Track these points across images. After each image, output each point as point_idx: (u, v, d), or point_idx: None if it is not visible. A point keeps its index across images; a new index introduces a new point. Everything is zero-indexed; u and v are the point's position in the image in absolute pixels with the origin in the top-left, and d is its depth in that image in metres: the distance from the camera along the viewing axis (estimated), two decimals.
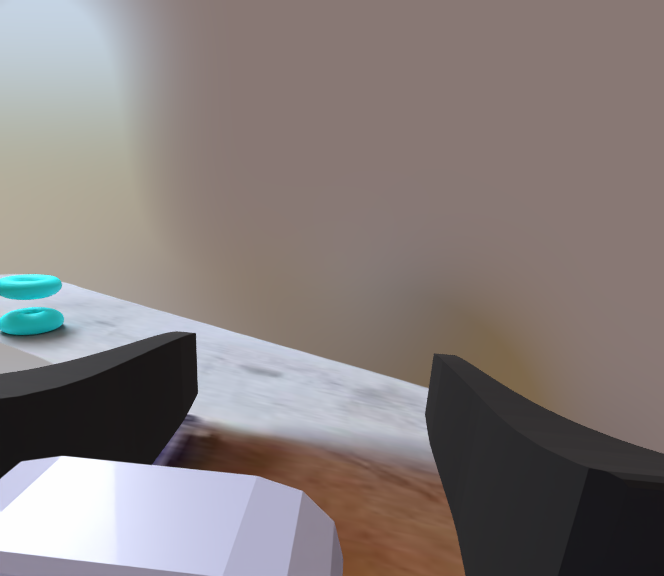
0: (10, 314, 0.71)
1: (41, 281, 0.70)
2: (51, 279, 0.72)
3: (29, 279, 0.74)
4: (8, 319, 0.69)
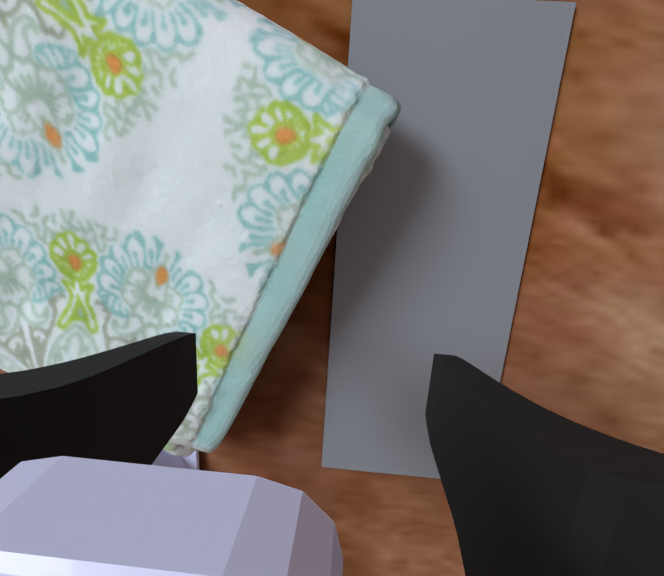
0: None
1: None
2: None
3: None
4: None
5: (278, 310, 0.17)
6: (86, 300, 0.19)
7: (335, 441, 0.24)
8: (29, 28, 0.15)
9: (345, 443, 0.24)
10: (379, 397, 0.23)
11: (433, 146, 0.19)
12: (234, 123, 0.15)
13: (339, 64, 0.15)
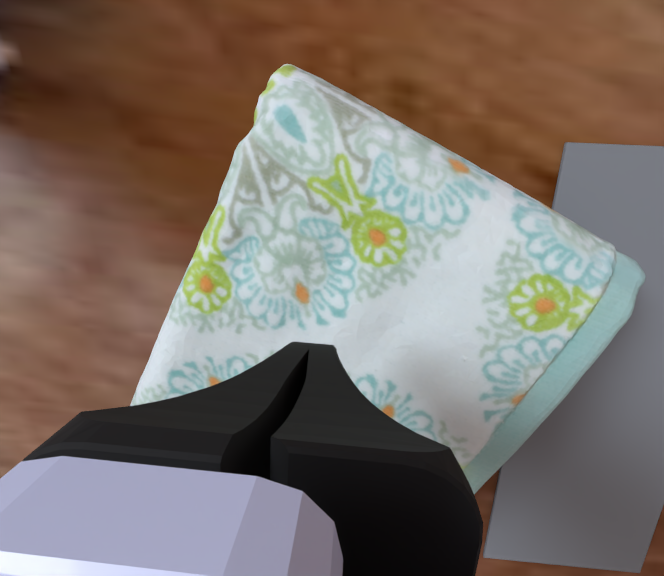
0: None
1: None
2: None
3: None
4: None
5: (507, 449, 0.18)
6: None
7: (500, 535, 0.25)
8: (298, 205, 0.16)
9: (510, 537, 0.25)
10: (549, 496, 0.24)
11: None
12: (494, 293, 0.16)
13: (587, 232, 0.16)
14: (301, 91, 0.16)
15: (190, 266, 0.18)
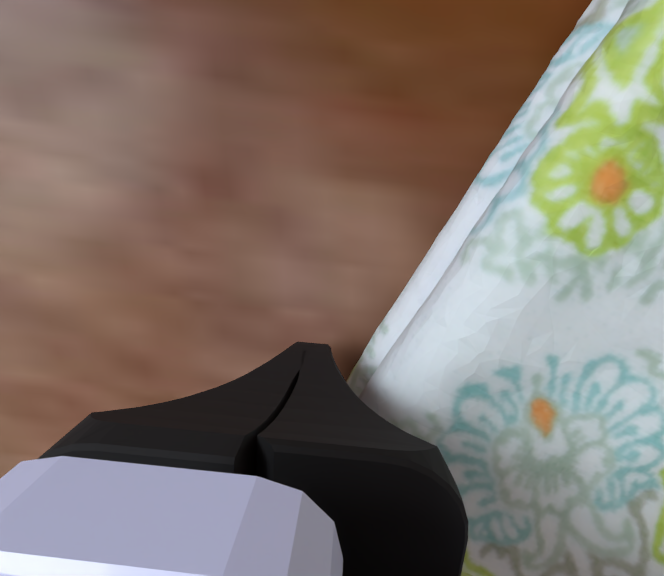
0: None
1: None
2: None
3: None
4: None
5: None
6: None
7: None
8: None
9: None
10: None
11: None
12: None
13: None
14: None
15: (557, 144, 0.08)
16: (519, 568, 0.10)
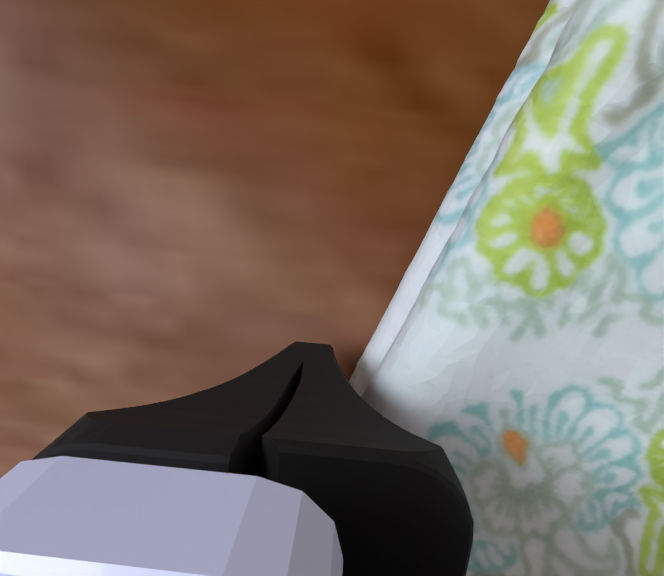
0: None
1: None
2: None
3: None
4: None
5: None
6: None
7: None
8: None
9: None
10: None
11: None
12: None
13: None
14: None
15: (496, 193, 0.08)
16: None
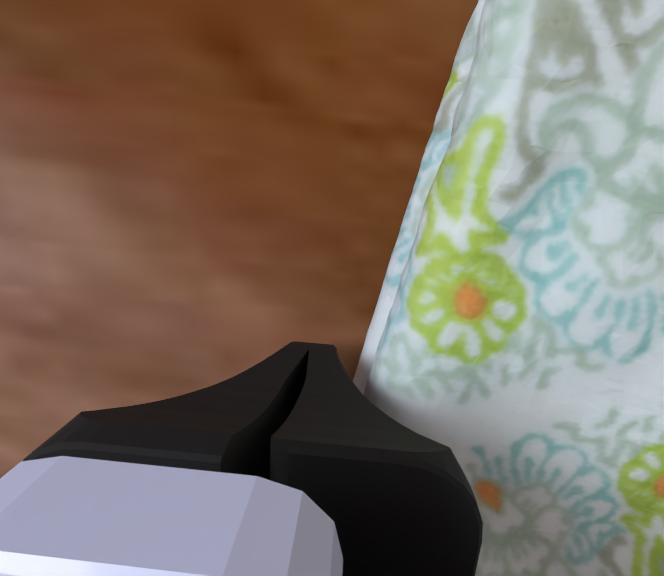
0: None
1: None
2: None
3: None
4: None
5: None
6: None
7: None
8: None
9: None
10: None
11: None
12: None
13: None
14: None
15: (419, 273, 0.08)
16: None
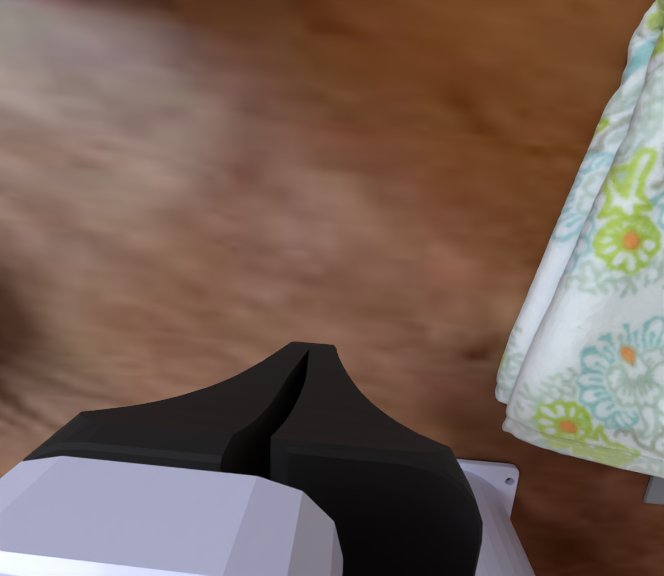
0: None
1: None
2: None
3: None
4: None
5: None
6: None
7: None
8: None
9: None
10: None
11: None
12: None
13: None
14: None
15: (601, 227, 0.16)
16: (638, 440, 0.18)
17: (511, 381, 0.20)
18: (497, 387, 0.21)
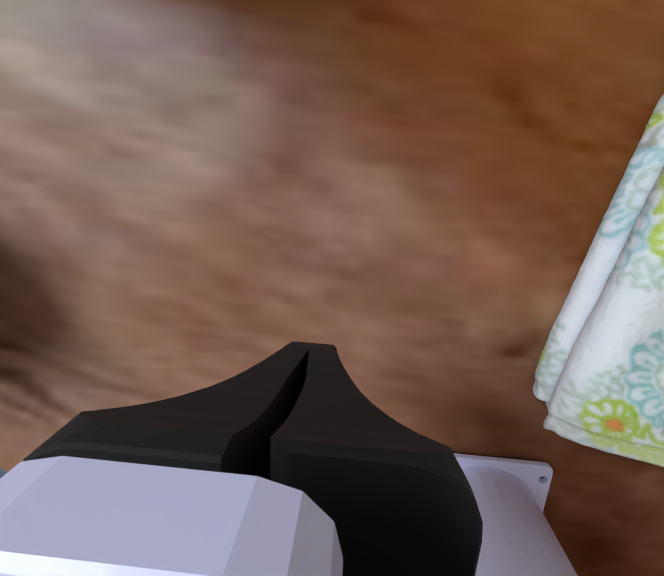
0: None
1: None
2: None
3: None
4: None
5: None
6: None
7: None
8: None
9: None
10: None
11: None
12: None
13: None
14: None
15: (657, 223, 0.16)
16: None
17: (551, 378, 0.20)
18: (535, 385, 0.21)
